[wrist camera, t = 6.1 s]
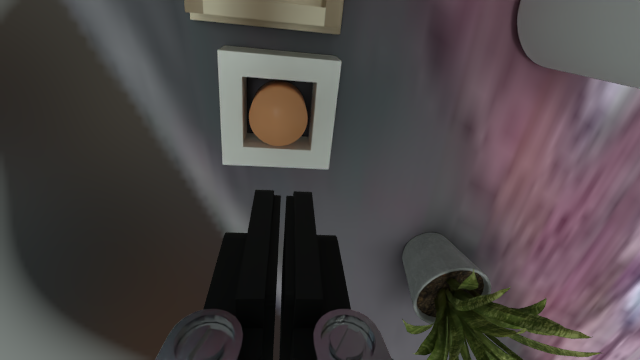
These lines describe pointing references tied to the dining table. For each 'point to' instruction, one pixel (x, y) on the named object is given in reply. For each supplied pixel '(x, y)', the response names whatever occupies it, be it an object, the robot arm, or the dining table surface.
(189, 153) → the dining table surface
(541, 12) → the alcohol
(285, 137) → the button
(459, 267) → the house plant
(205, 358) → the robot arm
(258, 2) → the beige square tray
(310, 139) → the button console
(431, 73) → the dining table surface
